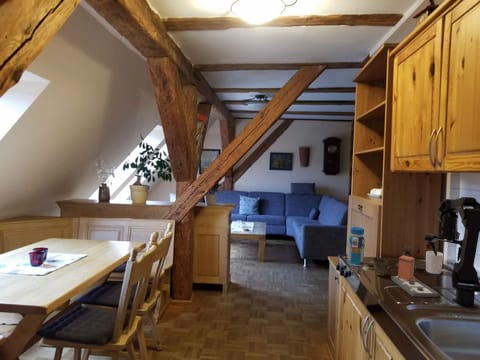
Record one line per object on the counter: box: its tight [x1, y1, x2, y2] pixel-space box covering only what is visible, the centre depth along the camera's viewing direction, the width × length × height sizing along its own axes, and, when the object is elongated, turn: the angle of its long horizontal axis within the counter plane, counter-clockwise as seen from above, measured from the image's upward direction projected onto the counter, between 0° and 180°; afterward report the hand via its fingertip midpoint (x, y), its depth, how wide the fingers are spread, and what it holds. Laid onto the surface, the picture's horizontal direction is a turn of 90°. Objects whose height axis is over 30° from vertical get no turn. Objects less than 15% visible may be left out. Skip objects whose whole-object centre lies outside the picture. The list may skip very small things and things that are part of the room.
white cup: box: [425, 250, 444, 275], centre depth 173 cm, size 8×8×10 cm
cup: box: [372, 257, 390, 277], centre depth 166 cm, size 8×7×8 cm
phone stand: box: [396, 245, 417, 273], centre depth 177 cm, size 9×6×12 cm, turn 62°
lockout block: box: [397, 255, 416, 281], centre depth 158 cm, size 5×5×10 cm
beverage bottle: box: [347, 226, 366, 267], centre depth 182 cm, size 8×8×20 cm
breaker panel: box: [390, 275, 440, 298], centre depth 151 cm, size 20×11×2 cm, turn 1°
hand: (446, 258), depth 157 cm, fingers open, 9 cm apart
